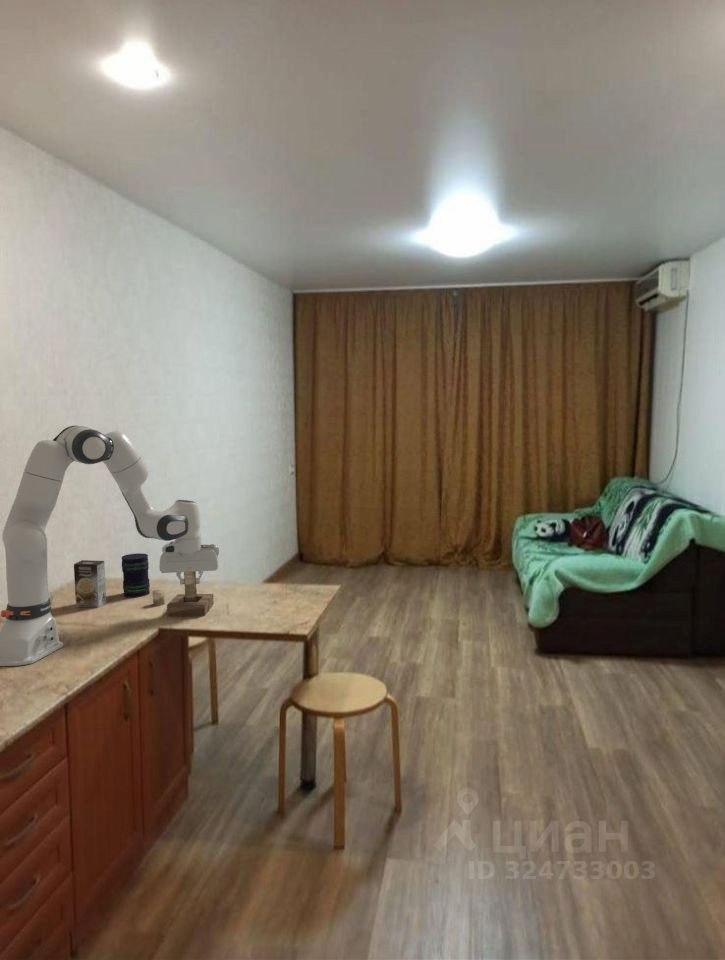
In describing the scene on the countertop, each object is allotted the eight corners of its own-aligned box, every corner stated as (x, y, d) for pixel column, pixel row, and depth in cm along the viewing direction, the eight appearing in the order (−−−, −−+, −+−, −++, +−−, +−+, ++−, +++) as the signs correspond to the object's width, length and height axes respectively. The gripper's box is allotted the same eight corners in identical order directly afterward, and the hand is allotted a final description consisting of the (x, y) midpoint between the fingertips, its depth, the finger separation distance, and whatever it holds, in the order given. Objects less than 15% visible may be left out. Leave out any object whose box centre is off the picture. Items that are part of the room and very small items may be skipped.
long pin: (193, 601, 240) (191, 567, 239) (183, 600, 242) (181, 567, 240) (199, 597, 244) (197, 564, 243) (189, 597, 245) (187, 564, 244)
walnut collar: (204, 615, 237) (204, 604, 236) (167, 616, 237) (166, 604, 236) (213, 604, 249) (213, 593, 249) (178, 605, 250) (177, 594, 249)
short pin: (162, 605, 249) (162, 592, 249) (151, 605, 249) (151, 592, 249) (166, 602, 253) (165, 589, 253) (155, 602, 253) (154, 589, 253)
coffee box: (75, 607, 249) (72, 564, 247) (83, 602, 255) (81, 560, 254) (99, 607, 248) (96, 564, 246) (107, 602, 254) (104, 560, 253)
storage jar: (139, 598, 259) (137, 559, 258) (117, 596, 262) (115, 558, 261) (155, 591, 269) (153, 554, 267) (134, 589, 272) (132, 552, 270)
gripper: (219, 542, 245) (221, 579, 246) (160, 544, 242) (162, 582, 244) (217, 545, 239) (219, 584, 240) (157, 548, 236) (159, 587, 238)
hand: (190, 583), depth 242 cm, fingers closed on long pin, 4 cm apart
